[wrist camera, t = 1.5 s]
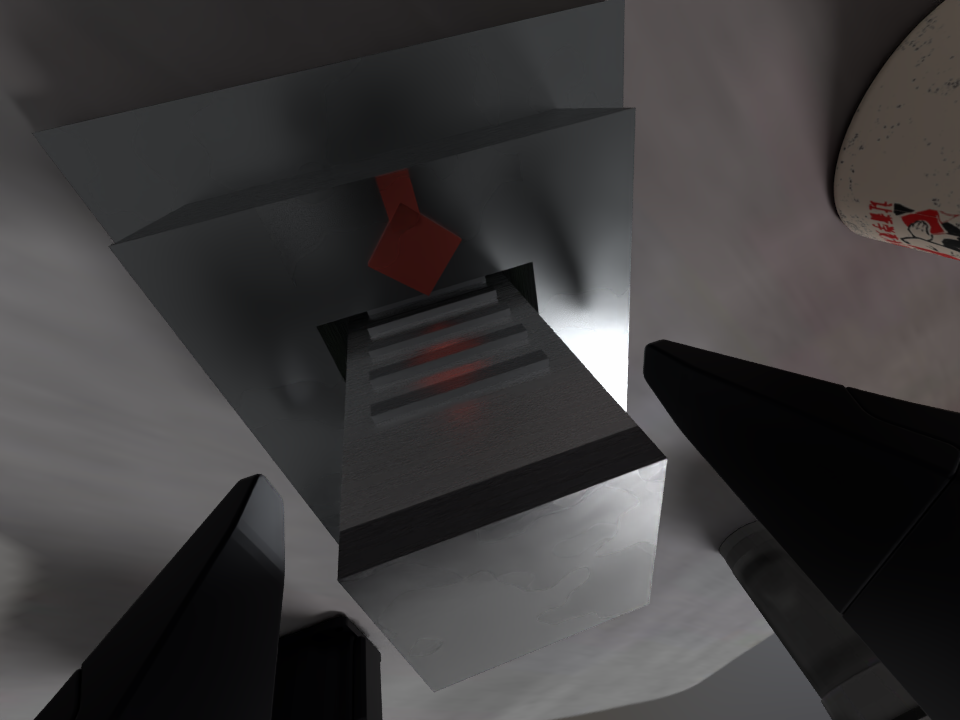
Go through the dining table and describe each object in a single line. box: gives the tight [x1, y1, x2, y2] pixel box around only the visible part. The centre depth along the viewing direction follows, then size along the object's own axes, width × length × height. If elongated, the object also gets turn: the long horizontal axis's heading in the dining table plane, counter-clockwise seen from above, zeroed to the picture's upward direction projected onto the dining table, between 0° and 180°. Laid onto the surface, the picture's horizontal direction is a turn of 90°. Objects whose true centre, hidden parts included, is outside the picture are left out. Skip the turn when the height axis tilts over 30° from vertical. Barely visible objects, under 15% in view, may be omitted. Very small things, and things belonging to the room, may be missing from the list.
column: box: [338, 271, 667, 692], centre depth 9 cm, size 4×4×9 cm
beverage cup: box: [720, 521, 931, 720], centre depth 24 cm, size 7×7×20 cm
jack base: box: [32, 0, 636, 544], centre depth 12 cm, size 14×14×5 cm
